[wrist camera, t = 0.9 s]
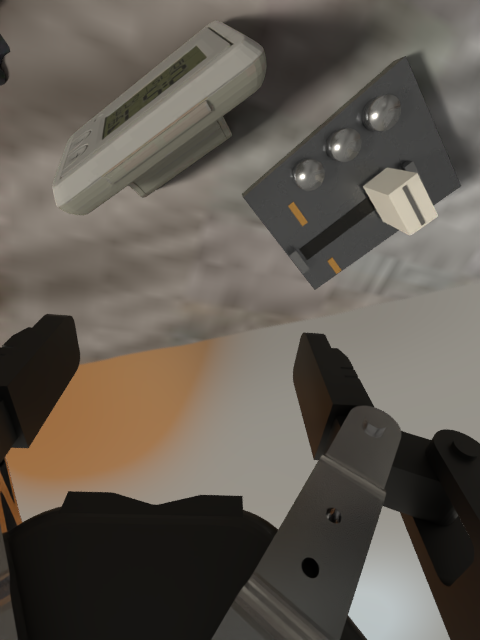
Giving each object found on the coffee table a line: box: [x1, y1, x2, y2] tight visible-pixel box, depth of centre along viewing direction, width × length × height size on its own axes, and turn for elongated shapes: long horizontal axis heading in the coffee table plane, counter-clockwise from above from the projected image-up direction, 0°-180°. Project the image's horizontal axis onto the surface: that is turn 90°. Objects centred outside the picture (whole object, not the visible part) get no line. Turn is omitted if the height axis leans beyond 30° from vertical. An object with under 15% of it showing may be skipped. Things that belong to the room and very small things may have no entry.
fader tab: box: [363, 168, 438, 236], centre depth 27 cm, size 2×4×5 cm, turn 39°
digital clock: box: [52, 20, 267, 215], centre depth 23 cm, size 16×9×11 cm, turn 110°
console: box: [242, 56, 461, 290], centre depth 30 cm, size 16×12×4 cm
